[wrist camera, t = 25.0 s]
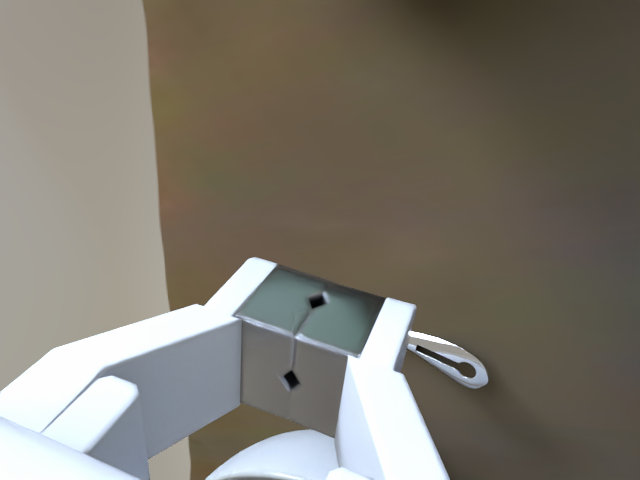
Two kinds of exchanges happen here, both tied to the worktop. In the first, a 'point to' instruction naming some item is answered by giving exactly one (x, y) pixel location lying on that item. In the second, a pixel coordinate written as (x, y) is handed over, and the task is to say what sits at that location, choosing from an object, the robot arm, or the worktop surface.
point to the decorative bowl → (283, 459)
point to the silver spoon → (453, 354)
